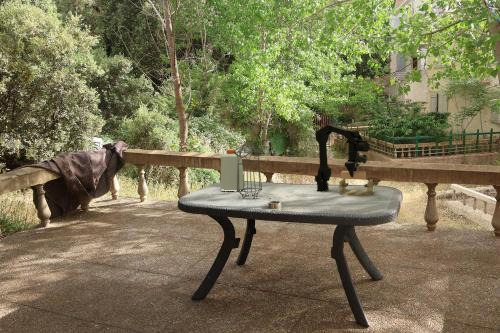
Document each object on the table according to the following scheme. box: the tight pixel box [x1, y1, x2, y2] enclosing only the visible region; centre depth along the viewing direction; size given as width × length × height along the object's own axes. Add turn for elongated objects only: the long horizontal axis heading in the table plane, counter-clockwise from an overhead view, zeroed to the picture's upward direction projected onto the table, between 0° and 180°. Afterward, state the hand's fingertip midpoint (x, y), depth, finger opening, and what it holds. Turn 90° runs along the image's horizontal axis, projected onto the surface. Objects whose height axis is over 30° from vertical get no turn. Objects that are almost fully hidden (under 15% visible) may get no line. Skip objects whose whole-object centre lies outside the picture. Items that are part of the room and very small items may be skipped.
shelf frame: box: [338, 178, 374, 196], centre depth 288 cm, size 18×12×8 cm, turn 66°
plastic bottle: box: [220, 149, 246, 190], centre depth 317 cm, size 15×15×28 cm
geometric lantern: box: [233, 141, 263, 198], centre depth 289 cm, size 16×16×35 cm
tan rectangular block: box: [340, 170, 367, 180], centre depth 280 cm, size 14×6×4 cm, turn 65°
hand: (353, 176), depth 280 cm, fingers closed on tan rectangular block, 6 cm apart
